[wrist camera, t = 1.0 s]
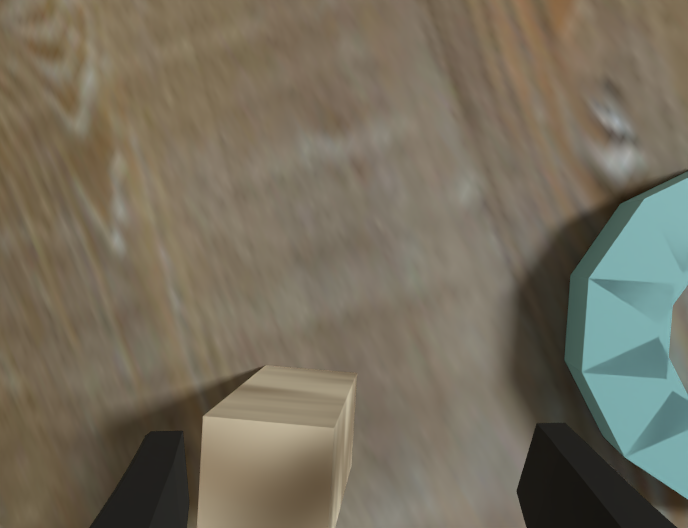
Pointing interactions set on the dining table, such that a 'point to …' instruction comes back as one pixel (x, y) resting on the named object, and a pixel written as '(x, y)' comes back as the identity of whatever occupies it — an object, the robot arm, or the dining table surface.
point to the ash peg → (278, 451)
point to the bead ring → (634, 331)
